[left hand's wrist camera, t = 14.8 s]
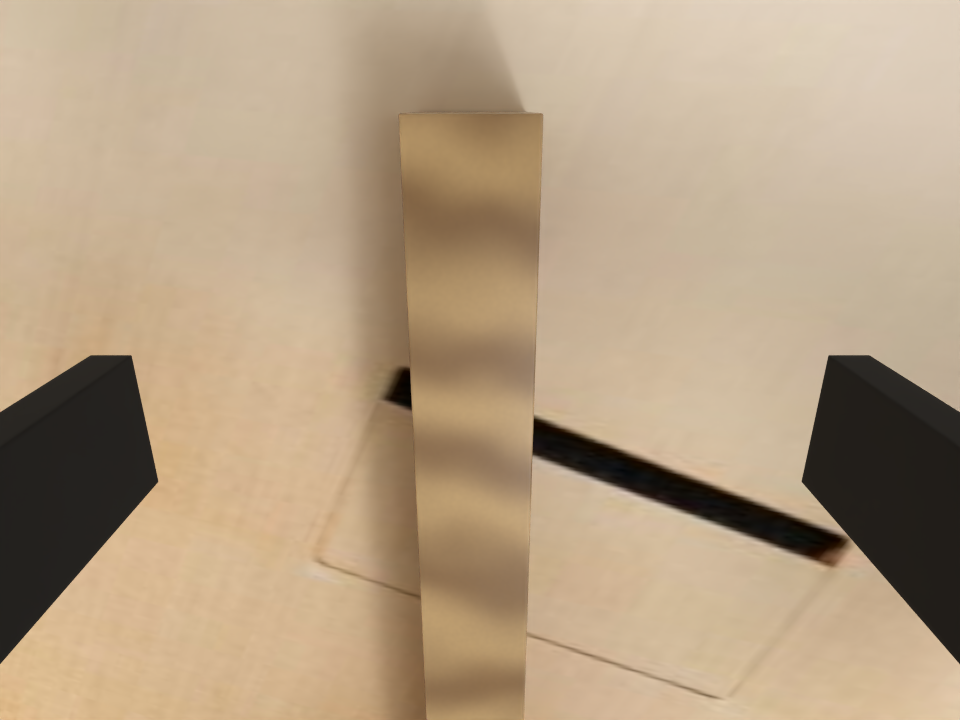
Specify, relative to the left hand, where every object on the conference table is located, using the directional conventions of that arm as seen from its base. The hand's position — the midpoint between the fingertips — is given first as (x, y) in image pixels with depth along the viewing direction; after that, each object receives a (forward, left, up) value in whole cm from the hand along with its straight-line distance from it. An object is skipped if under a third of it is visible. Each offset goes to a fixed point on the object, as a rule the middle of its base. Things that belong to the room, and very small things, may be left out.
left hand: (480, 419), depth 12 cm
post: (+14, +25, -24) cm, 37 cm away
